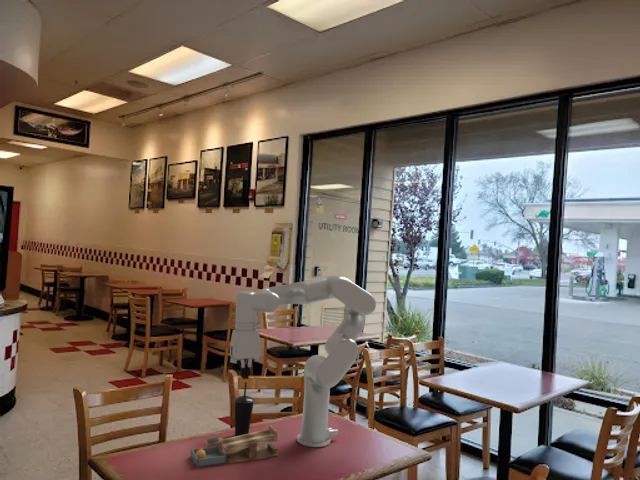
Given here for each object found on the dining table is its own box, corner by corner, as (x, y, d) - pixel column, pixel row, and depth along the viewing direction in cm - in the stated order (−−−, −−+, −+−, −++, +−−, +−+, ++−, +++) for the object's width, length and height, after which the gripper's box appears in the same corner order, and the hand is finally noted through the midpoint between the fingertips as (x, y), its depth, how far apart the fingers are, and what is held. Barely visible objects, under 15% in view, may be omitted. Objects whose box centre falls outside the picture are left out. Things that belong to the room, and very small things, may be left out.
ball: (200, 445, 161) (192, 453, 160) (202, 449, 158) (194, 457, 157) (206, 452, 162) (198, 459, 161) (208, 456, 159) (200, 463, 158)
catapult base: (269, 446, 175) (270, 431, 175) (278, 456, 168) (279, 439, 168) (219, 453, 167) (220, 436, 167) (226, 463, 159) (227, 446, 160)
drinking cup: (247, 441, 179) (252, 386, 179) (228, 438, 180) (232, 383, 181) (254, 434, 186) (258, 381, 187) (235, 431, 188) (239, 378, 188)
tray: (218, 453, 167) (219, 446, 167) (225, 463, 159) (226, 456, 159) (190, 457, 162) (191, 449, 162) (196, 467, 155) (197, 459, 155)
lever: (266, 429, 178) (266, 421, 178) (277, 440, 169) (277, 431, 169) (205, 443, 168) (205, 434, 168) (213, 455, 159) (213, 445, 159)
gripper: (261, 323, 182) (260, 373, 181) (222, 325, 175) (221, 377, 174) (269, 326, 175) (268, 378, 175) (228, 329, 168) (227, 383, 168)
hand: (244, 377), depth 175 cm, fingers closed
